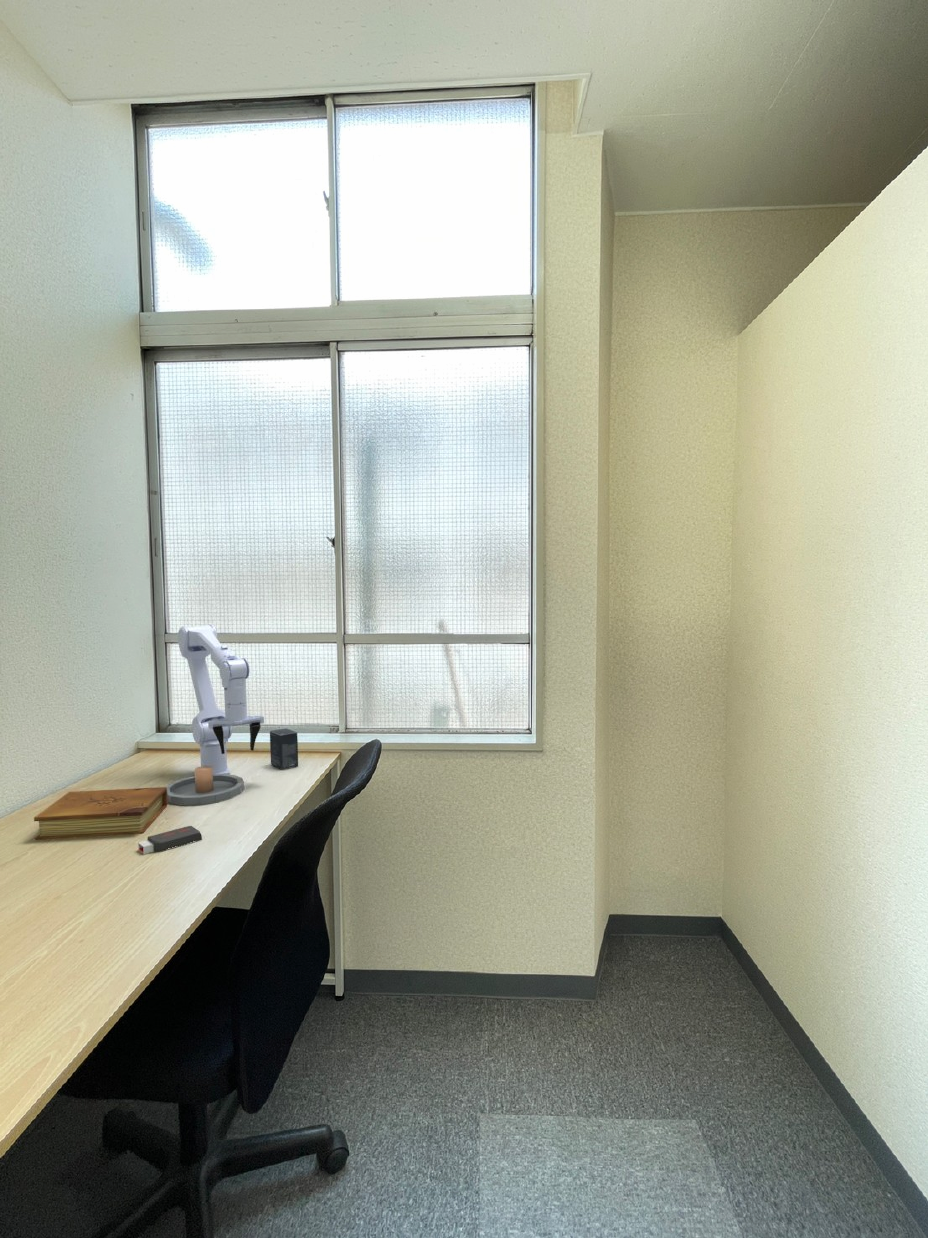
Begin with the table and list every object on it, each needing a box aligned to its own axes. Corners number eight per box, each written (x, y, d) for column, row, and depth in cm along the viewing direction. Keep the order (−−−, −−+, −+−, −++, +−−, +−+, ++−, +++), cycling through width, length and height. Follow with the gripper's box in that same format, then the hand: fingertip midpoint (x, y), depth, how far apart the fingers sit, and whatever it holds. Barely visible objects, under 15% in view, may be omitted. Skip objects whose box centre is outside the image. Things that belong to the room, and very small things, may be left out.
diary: (168, 808, 175) (167, 786, 175) (143, 836, 157) (142, 811, 156) (71, 812, 172) (70, 789, 172) (35, 841, 154) (33, 816, 153)
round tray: (163, 787, 190) (162, 780, 190) (238, 777, 198) (238, 770, 198) (164, 810, 172) (164, 802, 172) (248, 797, 180) (247, 790, 180)
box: (298, 766, 208) (297, 732, 207) (281, 770, 205) (280, 735, 204) (287, 761, 214) (286, 727, 213) (270, 764, 211) (269, 730, 210)
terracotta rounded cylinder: (195, 789, 186) (194, 767, 185) (212, 786, 188) (211, 765, 187) (196, 794, 182) (195, 771, 181) (214, 791, 184) (213, 769, 183)
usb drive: (202, 841, 152) (201, 829, 152) (145, 857, 144) (145, 844, 144) (192, 834, 156) (192, 822, 156) (137, 850, 148) (136, 837, 148)
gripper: (208, 708, 183) (210, 758, 184) (264, 702, 189) (266, 751, 190) (206, 703, 189) (208, 752, 190) (261, 698, 195) (263, 745, 196)
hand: (237, 751), depth 190 cm, fingers open, 7 cm apart
